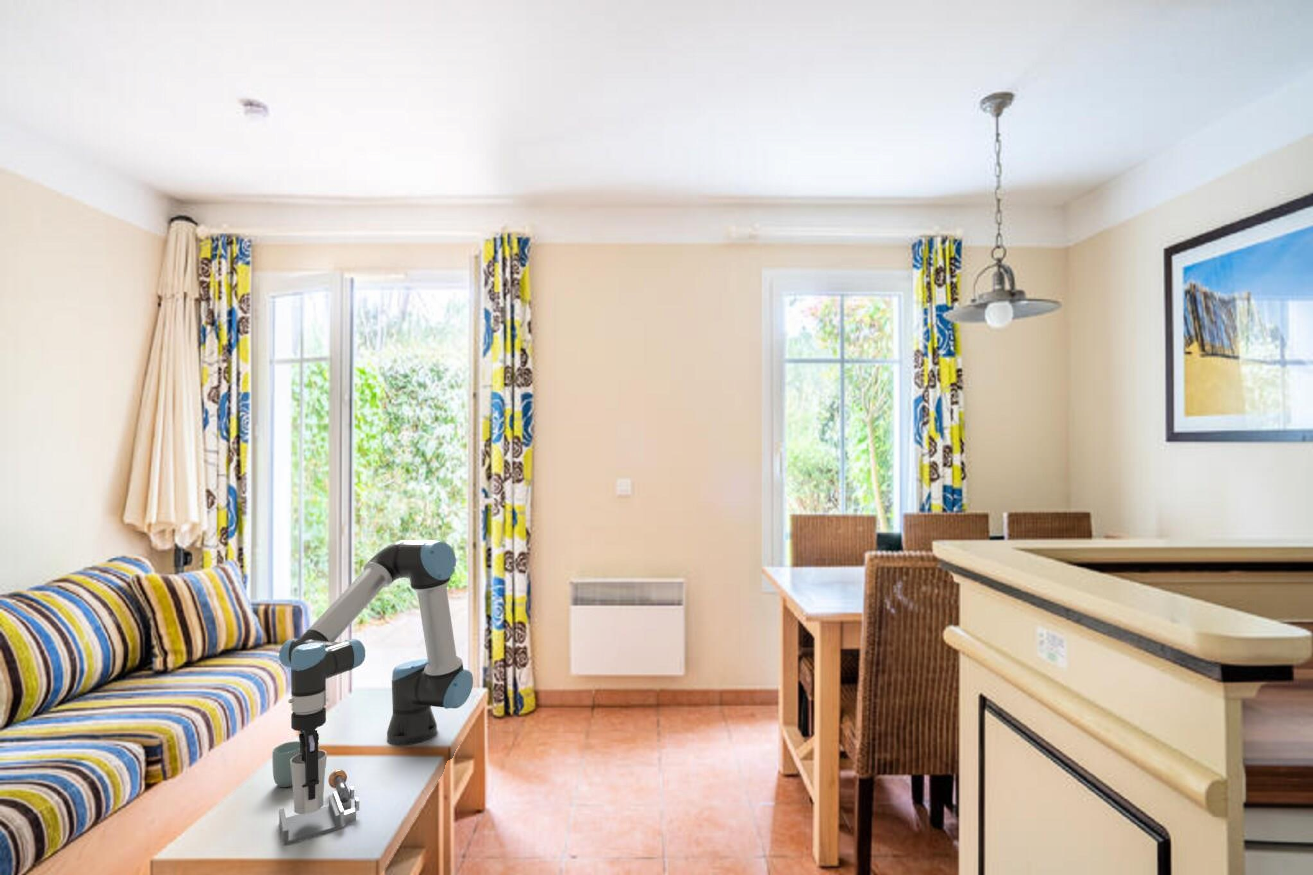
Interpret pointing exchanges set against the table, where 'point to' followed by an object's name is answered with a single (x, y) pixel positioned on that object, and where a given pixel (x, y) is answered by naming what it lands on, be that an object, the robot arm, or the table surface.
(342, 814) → the lug rail
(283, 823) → the dock
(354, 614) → the robot arm
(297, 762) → the cup
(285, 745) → the cup
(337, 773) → the lock pin
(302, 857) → the table surface
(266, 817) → the table surface
